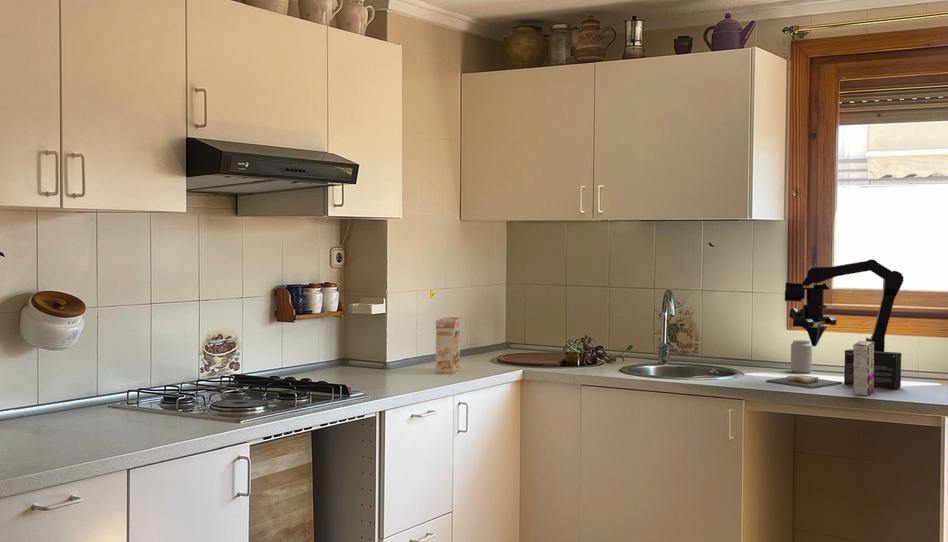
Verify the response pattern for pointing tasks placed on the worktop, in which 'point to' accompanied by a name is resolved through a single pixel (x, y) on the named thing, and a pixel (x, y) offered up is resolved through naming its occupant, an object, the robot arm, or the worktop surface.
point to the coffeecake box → (448, 345)
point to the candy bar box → (863, 368)
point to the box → (878, 369)
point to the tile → (802, 379)
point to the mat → (814, 385)
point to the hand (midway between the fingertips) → (814, 346)
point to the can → (801, 356)
